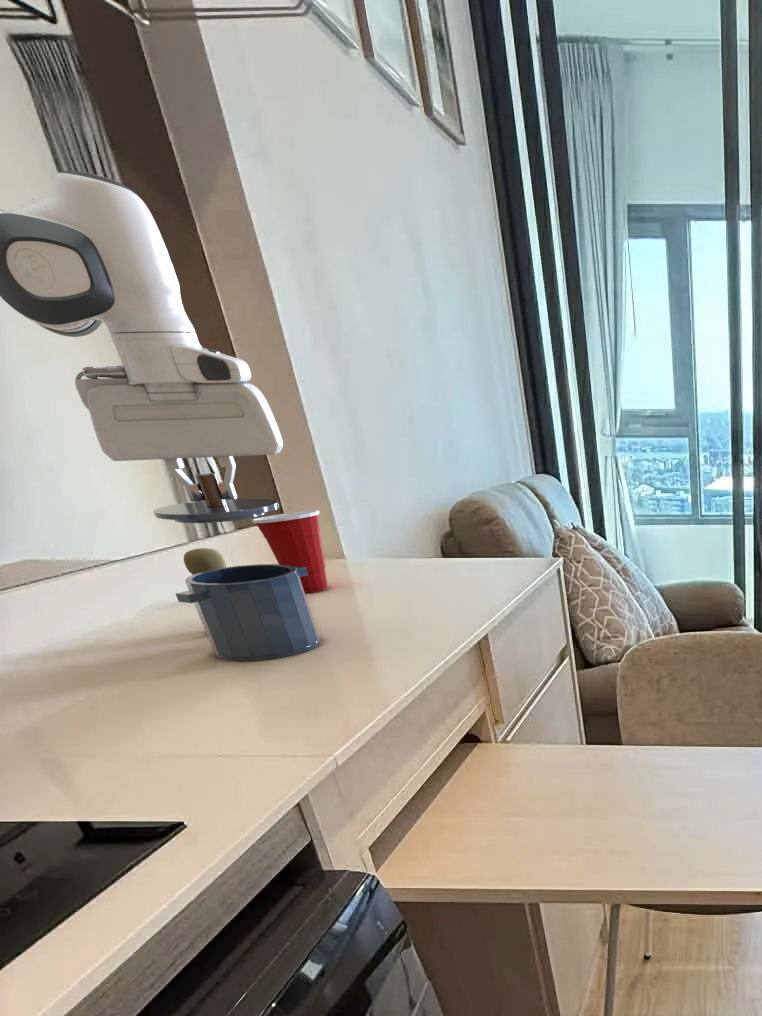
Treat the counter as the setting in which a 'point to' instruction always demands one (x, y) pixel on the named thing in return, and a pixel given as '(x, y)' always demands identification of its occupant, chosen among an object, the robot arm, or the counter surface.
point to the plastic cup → (297, 545)
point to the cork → (203, 560)
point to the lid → (215, 506)
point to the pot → (253, 611)
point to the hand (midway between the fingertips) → (214, 499)
